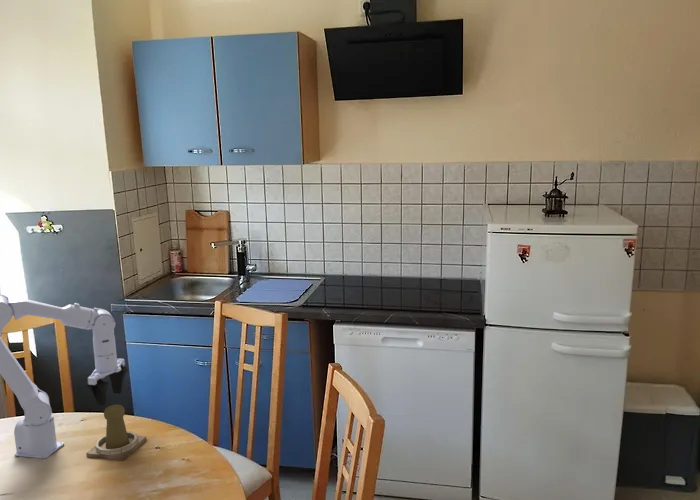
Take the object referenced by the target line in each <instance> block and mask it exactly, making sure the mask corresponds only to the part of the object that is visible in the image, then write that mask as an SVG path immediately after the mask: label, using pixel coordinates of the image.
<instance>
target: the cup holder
mask: <svg viewBox="0 0 700 500" xmlns="http://www.w3.org/2000/svg"><path fill="white" fill-rule="evenodd" d="M126 431H127V435H128V439H129V444H128V445H126V446H124V447H121V448H116V449H106V434H104V435H103V436H101V437H100V438H98V439H97V440H96V441H95V445H94V446H93V447H92V448H90V449H89V450H88V451H87V452H86V453H85V454H86V457H87V458H95V459H108V460H115V461H116V460H118V461H125V460H127V458H128V457H130V456H131V455H132V454H133V453H134V452H135V451H137V449H138V448H139V447H140V446H141V445H143V443H144V442H145V441H146V440H147V436H146V435H138V434H137V433H135V432H133V431H130V430H129V431H128V430H126Z"/></svg>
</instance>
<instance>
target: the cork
mask: <svg viewBox="0 0 700 500" xmlns="http://www.w3.org/2000/svg"><path fill="white" fill-rule="evenodd" d="M125 411H126V410H125V407H123V405H121V404H112V405H111V404H110V405H109V406H107V407H105V409H104V412H103V417H104V419H105V421H106V432H105V435H106V449H116V448H121V447H124V446H126V445H128V444H129V439H128V435H127V431H128V430H127V428H126V424H125V420H124V416H125V413H126V412H125Z"/></svg>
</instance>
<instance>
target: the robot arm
mask: <svg viewBox="0 0 700 500" xmlns="http://www.w3.org/2000/svg"><path fill="white" fill-rule="evenodd" d="M25 316H34V317H39V318H45V319H53V320H58V321H60V323H61V324H62V325H63V326H67V327H71V328H72V327H73V328H77V329H82V330H87V331H88V330H92V346H93V358H94V366H95V367H94V368H95V369H94V370H93V371H92V373H91V375H89V376H88V377H87V382H86V387H87V388H88V389H89V390H90V391H91V393H92V394H93V397H94V398H95V401H96V404H97V406H106V404H107V389H108V386H109V381H104V380H103V379H104V378H106V377H107V376H108V377H109V380H110V384H111V389H112V392H113V394H118V395H120V394H122V392H123V391H122V390H123V386H124V380H125V378H126V375H127V372H128V367H127V366H126V367H125V365H126V361H125V359H124V358H118V357H117V356H118V355H117V345H116V336H115V328H116V324H117V323H116V322H115V319H114V317H113V316H112V314H111V313H110V312H109V311H108V310H106V309H103V308H98V307H93V308H90V307H85V306H81V305H80V303H78V302H74V304H66V305H65V306H63V307H61V306H56V305H53V304H49V303H44V302H40V301H36V300H32V299H29V298H28V299H27V298H24V297H19V296H15V295H7V296H6V295H3V294H0V375H1V377H2V379H3V380H4V381H5V382H6V383H7V385H8V387H9V388H10V389H11V391H12V392H13V393H14V395H15V397H16V398H17V400H18V403H19V405H20V406H21V408H22V409H23V413H24V417H22V418H21V419H18V421H17V422H16V424H15V427H14V430H13V431H14V432H13V436H14V442H15V443H14V444H15V450H16V452H15V453H14V456H16V457H23V458H24V457H25V458H32V459H33V458H35V459H47V458H49V457H50V456H51V455H52V454H54V453H55V452H56V451H57V450H59V449H60V448H61V447H62V446H64V445H65V442H64V441H57V435H56V434H57V433H56V426H55V418H54V413H53V412H52V411H53V410H52V407H51V403H50V397H49V395H48V393H47V392H45V391H43V390H42V389H40V388H39V387H38V386H37V385H36V383H34V382H33V381H32V380H31V378H30V377H29V376H28V374H27V373H26V371H25V370H24V368H23V367H22V365H21V364H20V363H19V361H18V360H17V358H16V357H15V355H14V354H13V353H12V351H11V350H10V348H9V346H7V344H6V342H5V341H4V340H3V338H2V337H1V335H2V333H3V330H4V328H6V326H7V325H8V324H9V323H10V321H11V320H12V318H13V317H14V320H15V321H16V320H19V319H21V318H23V317H25Z"/></svg>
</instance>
